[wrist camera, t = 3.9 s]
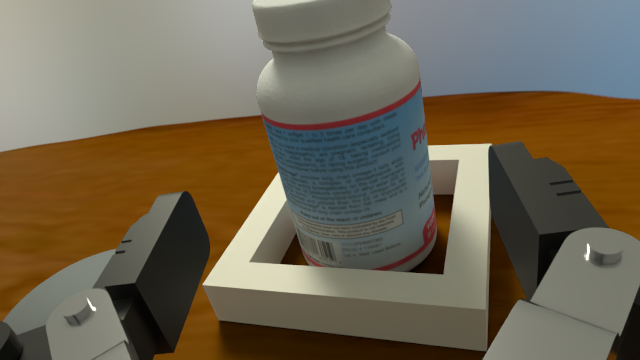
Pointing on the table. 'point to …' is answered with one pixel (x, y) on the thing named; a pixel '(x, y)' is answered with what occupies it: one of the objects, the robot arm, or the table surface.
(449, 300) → the holder
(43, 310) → the coaster
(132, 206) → the table surface
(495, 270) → the table surface
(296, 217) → the pill bottle
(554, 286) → the robot arm
